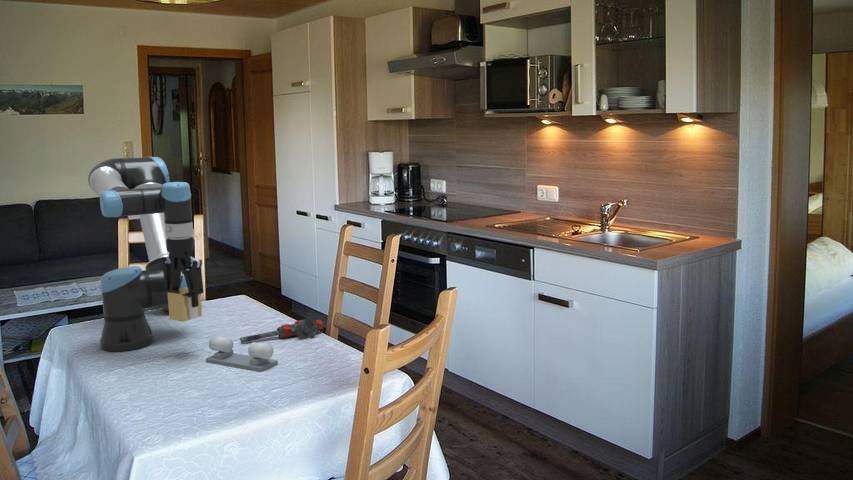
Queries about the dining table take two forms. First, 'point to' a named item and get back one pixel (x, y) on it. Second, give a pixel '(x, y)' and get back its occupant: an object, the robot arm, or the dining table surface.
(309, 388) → the dining table surface
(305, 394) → the dining table surface
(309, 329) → the valve
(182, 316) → the cardboard box
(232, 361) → the shaft bed
